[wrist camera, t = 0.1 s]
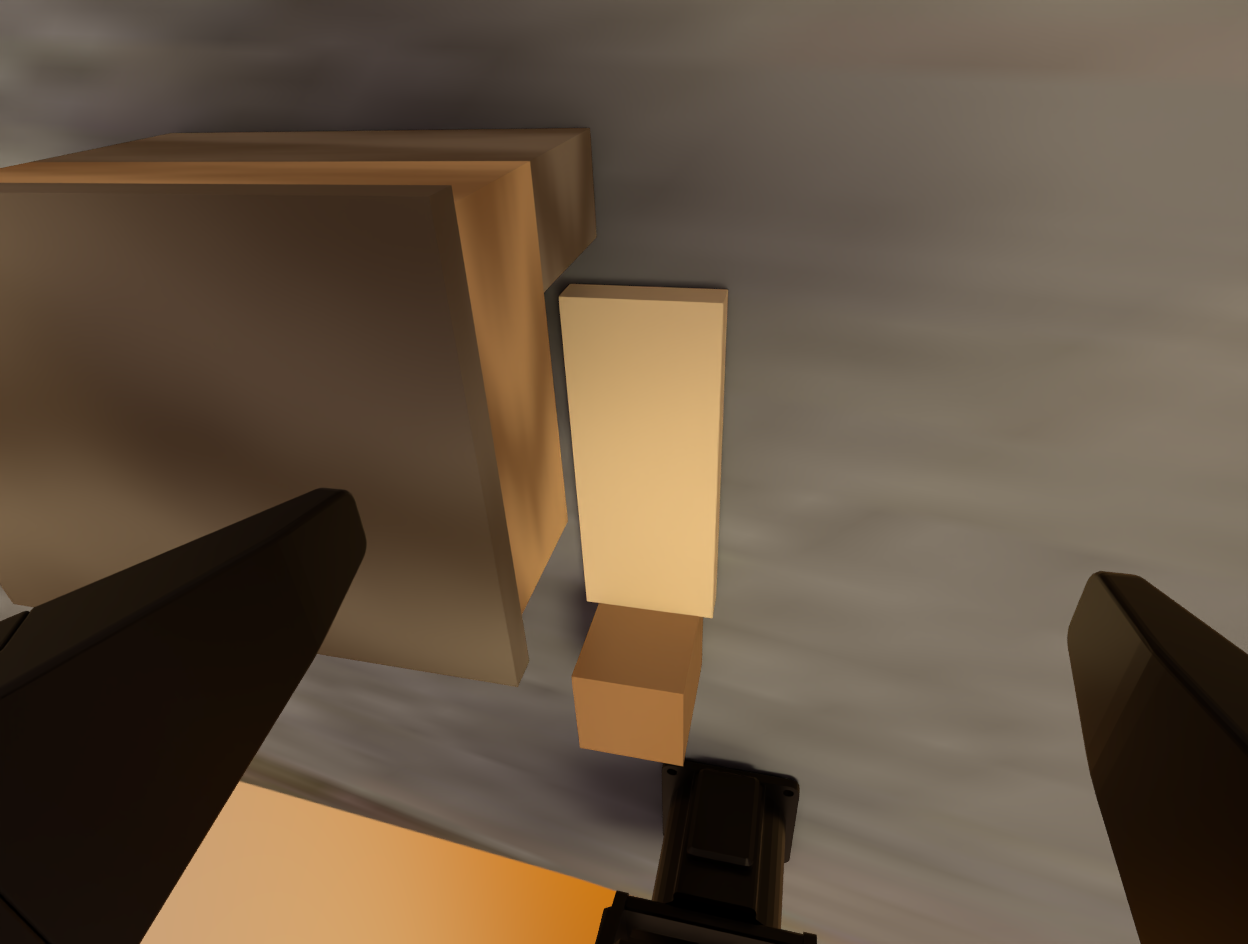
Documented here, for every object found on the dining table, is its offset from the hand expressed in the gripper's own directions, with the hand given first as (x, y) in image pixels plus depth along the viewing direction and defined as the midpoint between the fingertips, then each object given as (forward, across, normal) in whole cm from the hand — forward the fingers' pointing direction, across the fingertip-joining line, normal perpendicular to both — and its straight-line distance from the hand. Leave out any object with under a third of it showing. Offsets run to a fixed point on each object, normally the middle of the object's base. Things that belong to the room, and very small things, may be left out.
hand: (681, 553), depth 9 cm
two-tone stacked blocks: (+14, +3, +10) cm, 18 cm away
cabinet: (+14, +12, +2) cm, 19 cm away
